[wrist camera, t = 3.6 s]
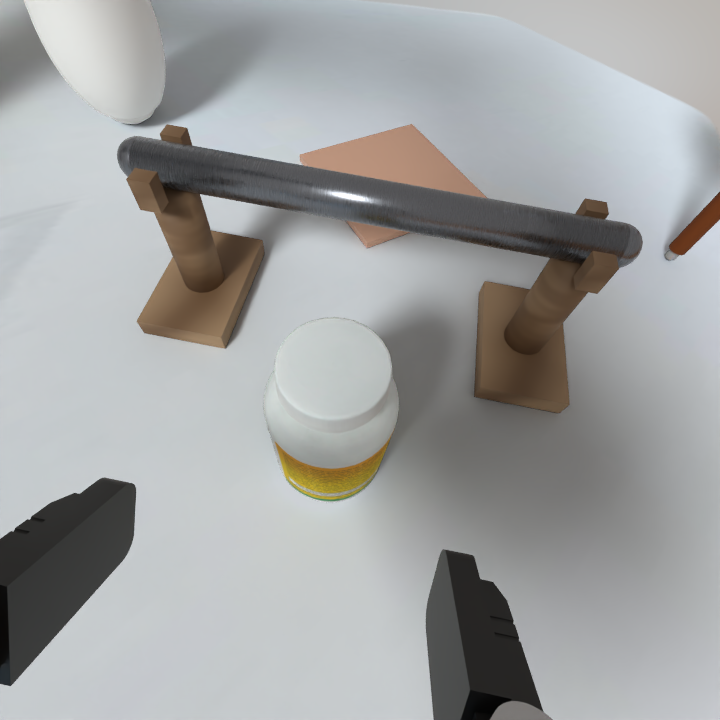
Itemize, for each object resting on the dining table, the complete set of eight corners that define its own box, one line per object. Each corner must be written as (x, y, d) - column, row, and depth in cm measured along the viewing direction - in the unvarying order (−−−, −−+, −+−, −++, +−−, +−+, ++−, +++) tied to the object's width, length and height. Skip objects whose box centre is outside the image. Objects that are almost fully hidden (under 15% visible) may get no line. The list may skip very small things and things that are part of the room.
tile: (300, 160, 35) (299, 154, 34) (410, 129, 38) (411, 124, 38) (366, 248, 30) (367, 242, 30) (486, 204, 34) (488, 199, 33)
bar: (120, 188, 20) (100, 149, 18) (139, 163, 21) (122, 123, 19) (627, 281, 19) (657, 249, 18) (621, 250, 20) (648, 217, 19)
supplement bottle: (264, 430, 23) (230, 328, 15) (353, 392, 24) (367, 281, 16) (303, 525, 21) (288, 467, 12) (398, 477, 22) (442, 398, 14)
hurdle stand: (144, 333, 25) (57, 199, 17) (194, 240, 29) (144, 96, 21) (559, 413, 25) (677, 314, 16) (551, 306, 29) (643, 184, 20)
